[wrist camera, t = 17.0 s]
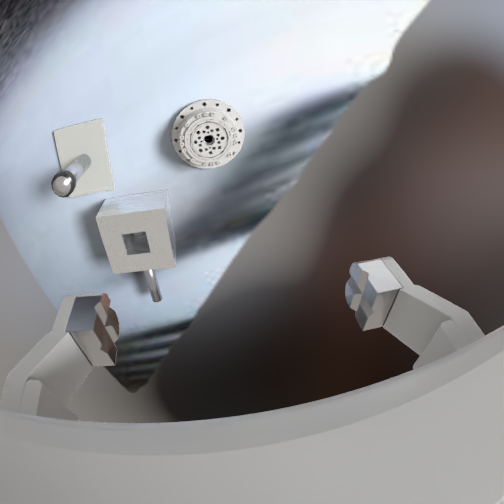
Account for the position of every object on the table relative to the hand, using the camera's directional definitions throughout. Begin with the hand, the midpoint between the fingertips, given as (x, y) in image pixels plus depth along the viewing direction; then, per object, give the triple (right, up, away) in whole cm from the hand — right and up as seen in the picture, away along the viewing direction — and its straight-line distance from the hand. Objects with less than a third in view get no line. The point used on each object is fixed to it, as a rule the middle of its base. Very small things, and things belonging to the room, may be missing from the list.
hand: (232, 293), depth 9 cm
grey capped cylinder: (-24, +14, +26) cm, 38 cm away
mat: (-24, +15, +27) cm, 39 cm away
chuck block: (-17, +2, +38) cm, 41 cm away
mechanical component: (-6, +18, +29) cm, 35 cm away
